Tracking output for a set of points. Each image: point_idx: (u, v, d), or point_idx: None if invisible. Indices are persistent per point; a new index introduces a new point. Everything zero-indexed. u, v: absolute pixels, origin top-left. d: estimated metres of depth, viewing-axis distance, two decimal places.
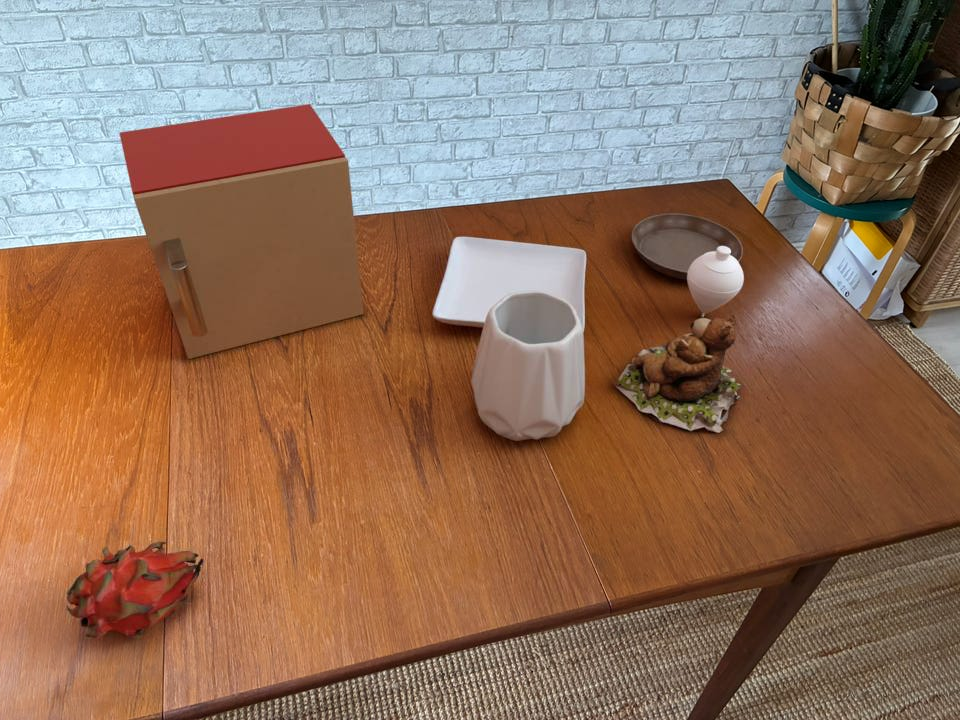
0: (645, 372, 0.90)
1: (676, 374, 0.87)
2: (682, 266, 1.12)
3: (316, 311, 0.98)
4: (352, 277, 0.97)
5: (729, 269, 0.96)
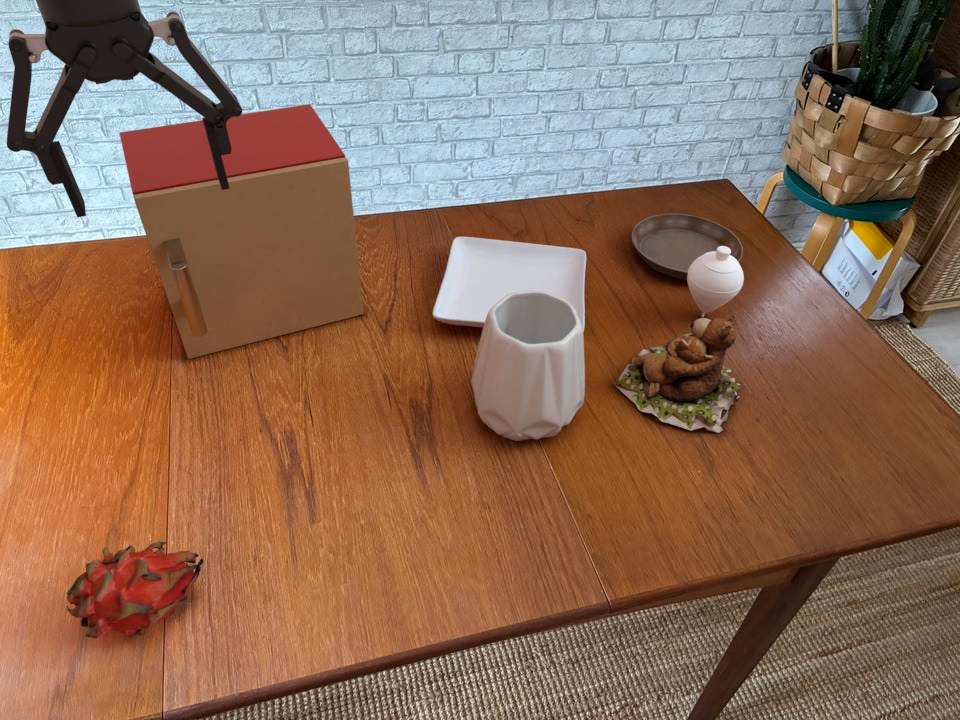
0: (645, 372, 0.90)
1: (676, 374, 0.87)
2: (682, 266, 1.12)
3: (316, 311, 0.98)
4: (352, 277, 0.97)
5: (729, 269, 0.96)
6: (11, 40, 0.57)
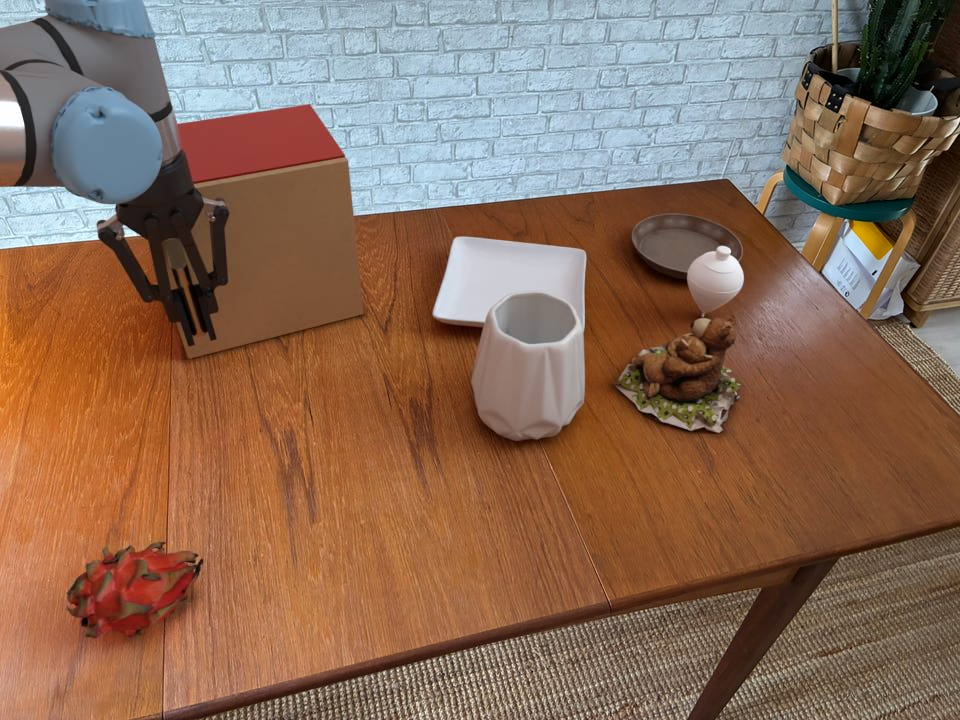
0: (645, 372, 0.90)
1: (676, 374, 0.87)
2: (682, 266, 1.12)
3: (316, 311, 0.98)
4: (352, 277, 0.97)
5: (729, 269, 0.96)
6: (98, 235, 0.71)
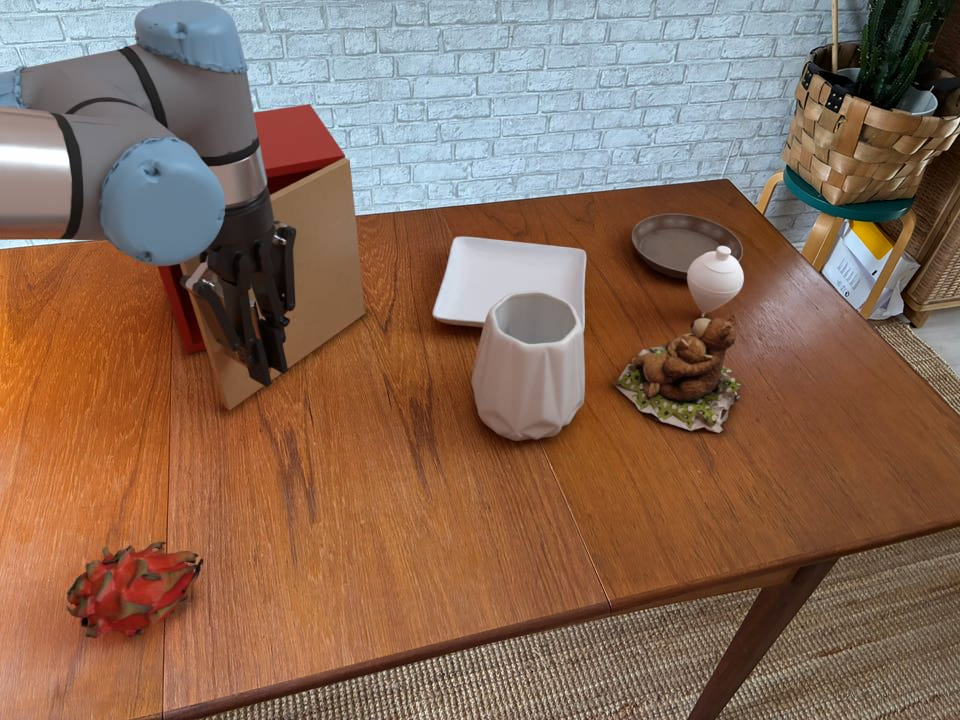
0: (645, 372, 0.90)
1: (676, 374, 0.87)
2: (682, 266, 1.12)
3: (330, 323, 0.96)
4: (356, 278, 0.97)
5: (729, 269, 0.96)
6: (197, 289, 0.65)
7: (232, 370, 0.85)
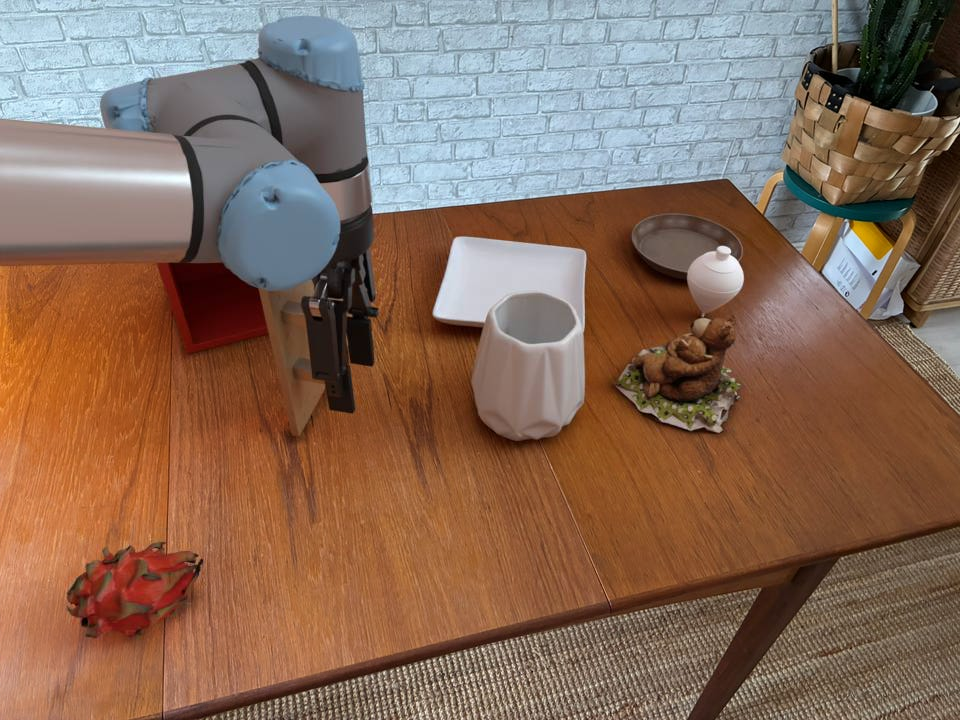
0: (645, 372, 0.90)
1: (676, 374, 0.87)
2: (682, 266, 1.12)
3: None
4: None
5: (729, 269, 0.96)
6: (326, 304, 0.63)
7: (299, 394, 0.82)
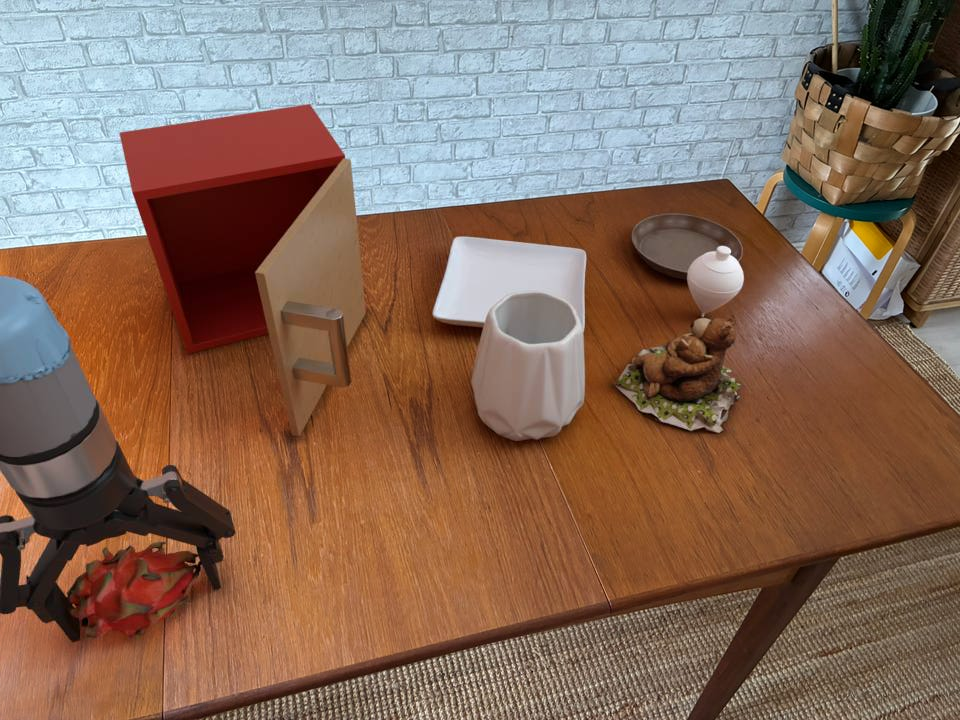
0: (645, 372, 0.90)
1: (676, 374, 0.87)
2: (682, 266, 1.12)
3: (348, 328, 0.95)
4: (359, 278, 0.97)
5: (729, 269, 0.96)
6: None
7: (299, 394, 0.82)
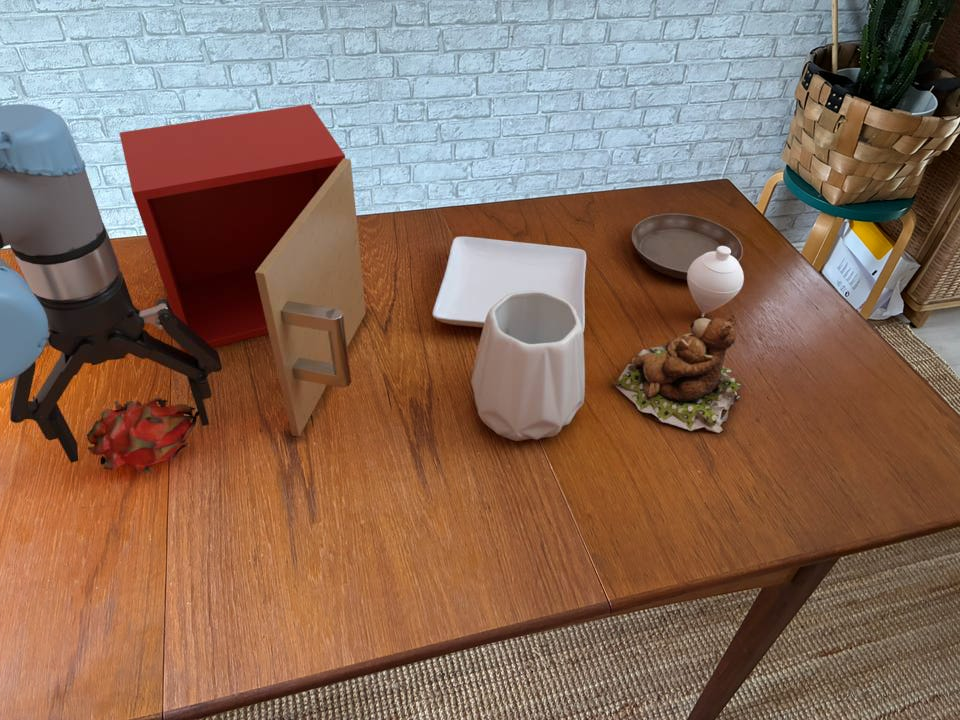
0: (645, 372, 0.90)
1: (676, 374, 0.87)
2: (682, 266, 1.12)
3: (348, 328, 0.95)
4: (359, 278, 0.97)
5: (729, 269, 0.96)
6: None
7: (299, 394, 0.82)
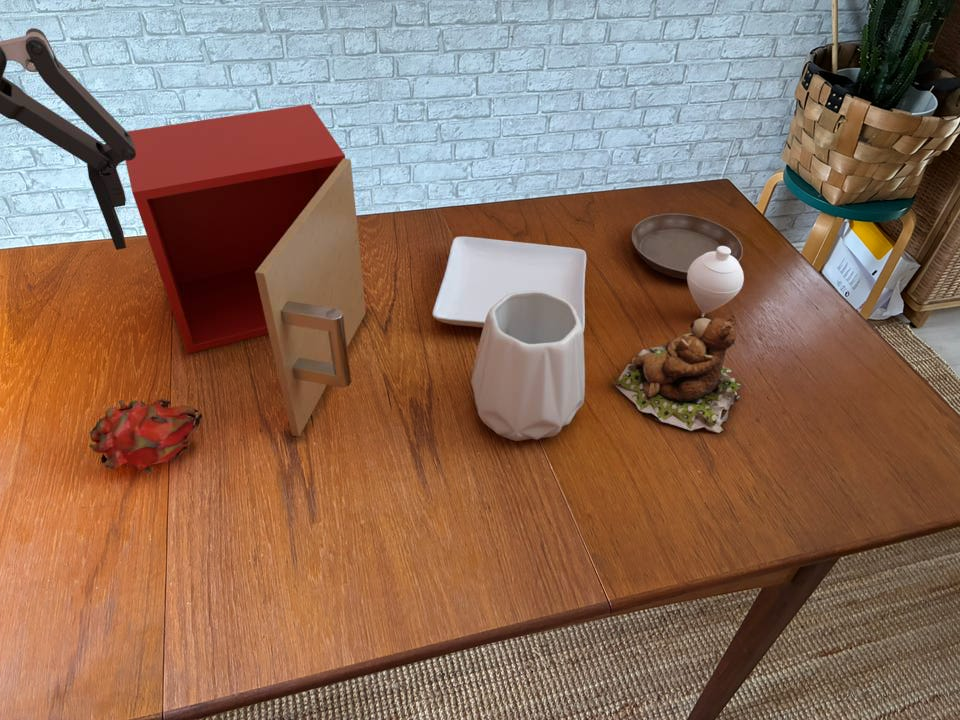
0: (645, 372, 0.90)
1: (676, 374, 0.87)
2: (682, 266, 1.12)
3: (348, 328, 0.95)
4: (359, 278, 0.97)
5: (729, 269, 0.96)
6: None
7: (299, 394, 0.82)
